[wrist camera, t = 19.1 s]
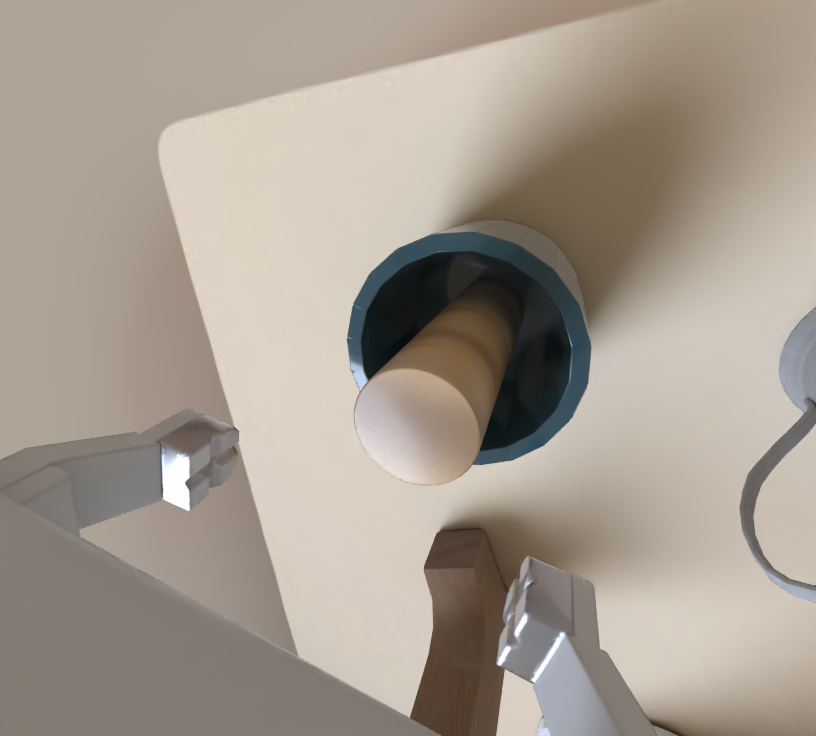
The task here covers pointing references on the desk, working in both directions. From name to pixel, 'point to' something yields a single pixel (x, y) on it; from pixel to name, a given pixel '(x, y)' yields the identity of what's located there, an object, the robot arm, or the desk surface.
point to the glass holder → (786, 440)
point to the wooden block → (462, 637)
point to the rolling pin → (441, 387)
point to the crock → (537, 339)
